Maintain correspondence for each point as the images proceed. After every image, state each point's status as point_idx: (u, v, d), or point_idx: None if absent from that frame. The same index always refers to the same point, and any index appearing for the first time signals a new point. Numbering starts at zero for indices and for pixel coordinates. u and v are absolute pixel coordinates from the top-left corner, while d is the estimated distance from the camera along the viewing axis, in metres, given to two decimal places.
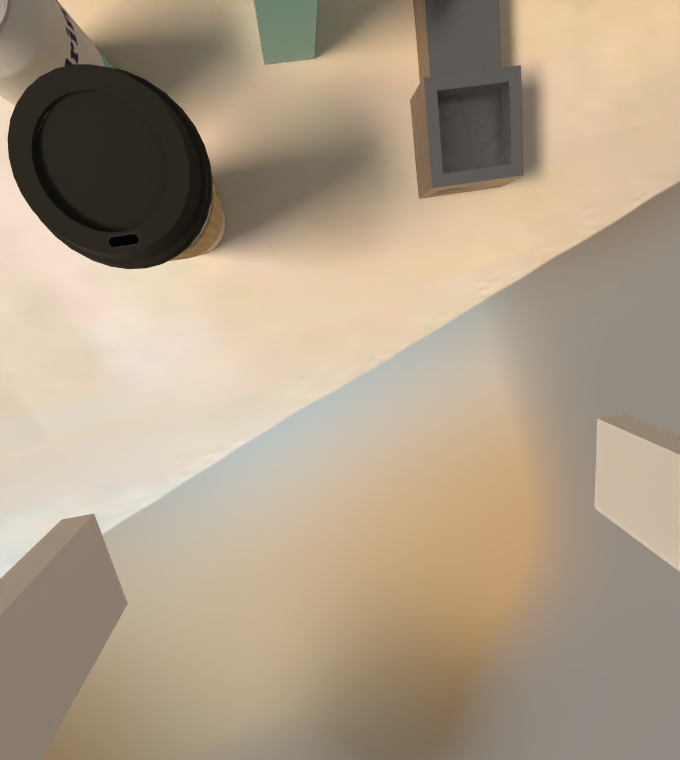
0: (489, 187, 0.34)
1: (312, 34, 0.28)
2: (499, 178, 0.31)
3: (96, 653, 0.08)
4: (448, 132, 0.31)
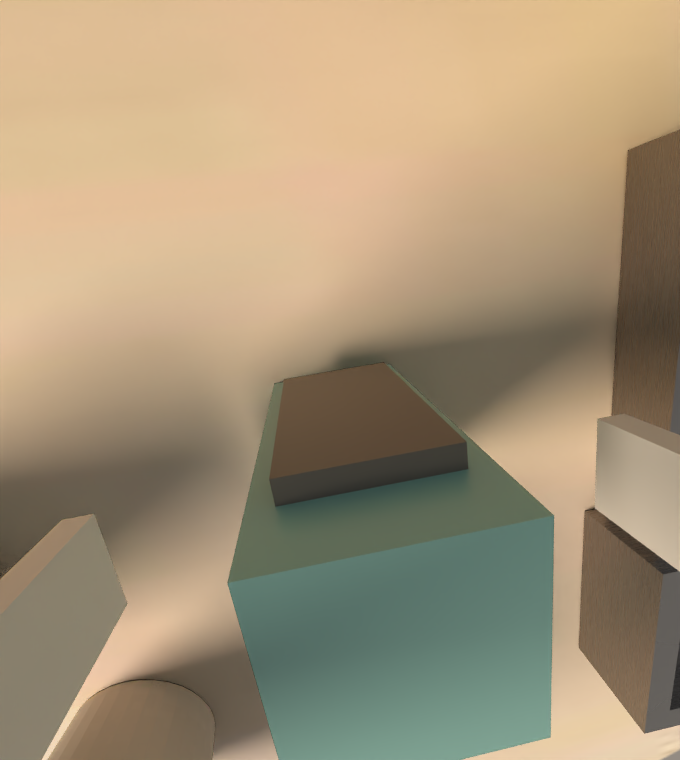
0: None
1: None
2: None
3: (96, 653, 0.08)
4: None
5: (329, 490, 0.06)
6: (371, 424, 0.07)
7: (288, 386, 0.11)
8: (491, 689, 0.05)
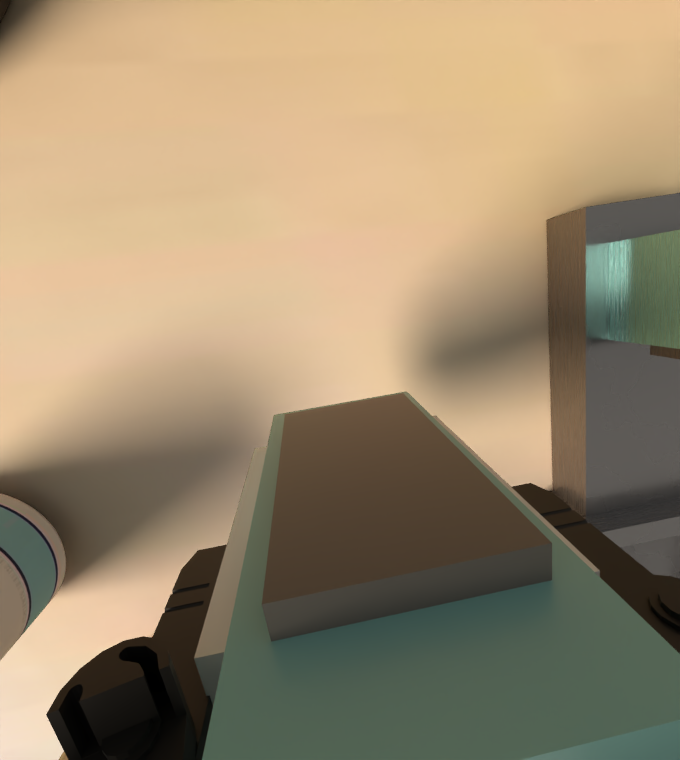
0: None
1: None
2: None
3: None
4: None
5: (351, 617, 0.04)
6: (403, 497, 0.05)
7: (290, 425, 0.09)
8: None
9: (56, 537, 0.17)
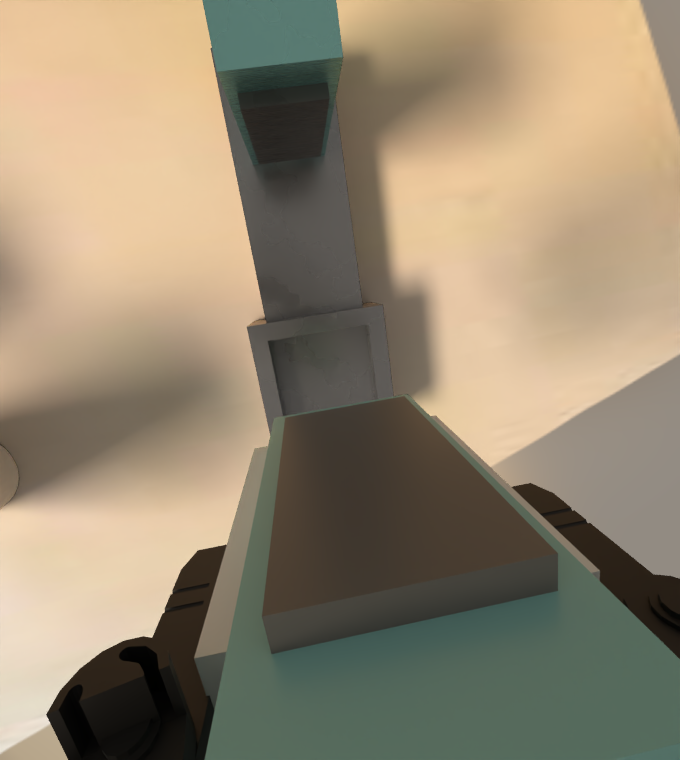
0: None
1: None
2: None
3: None
4: (296, 375, 0.23)
5: (353, 629, 0.04)
6: (405, 505, 0.05)
7: (290, 429, 0.09)
8: None
9: None
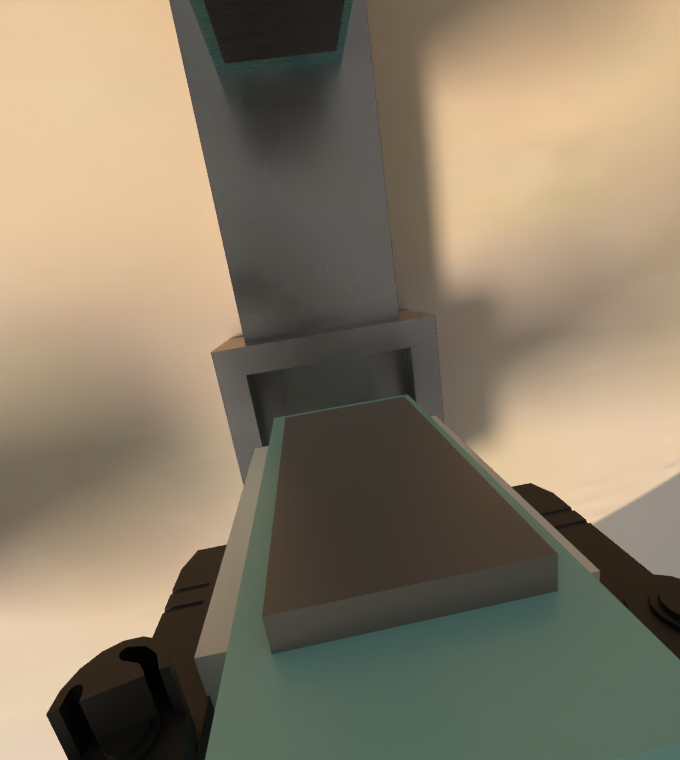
0: None
1: None
2: None
3: None
4: None
5: (352, 629, 0.04)
6: (405, 505, 0.05)
7: (290, 429, 0.09)
8: None
9: None
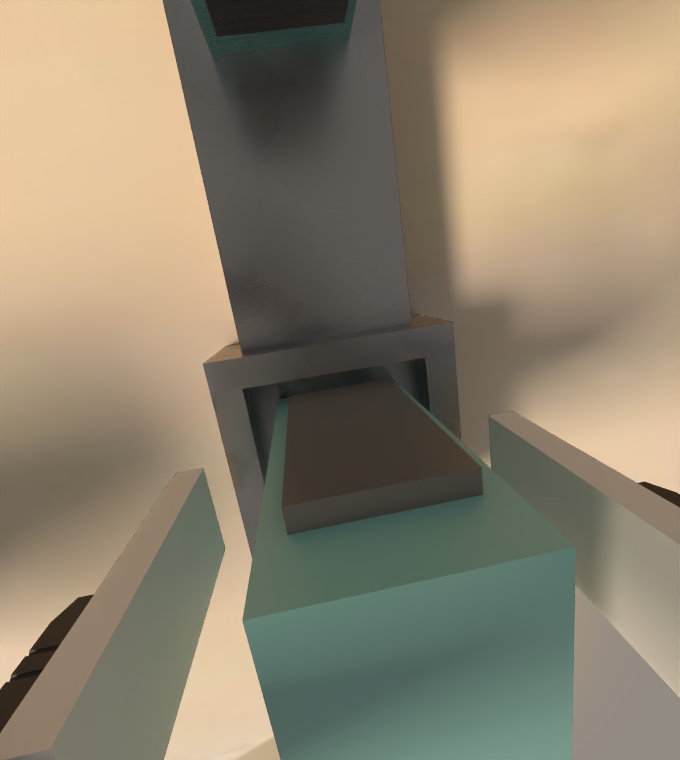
0: None
1: None
2: None
3: (211, 582, 0.10)
4: None
5: (342, 518, 0.06)
6: (382, 447, 0.07)
7: (294, 403, 0.11)
8: (511, 725, 0.05)
9: None
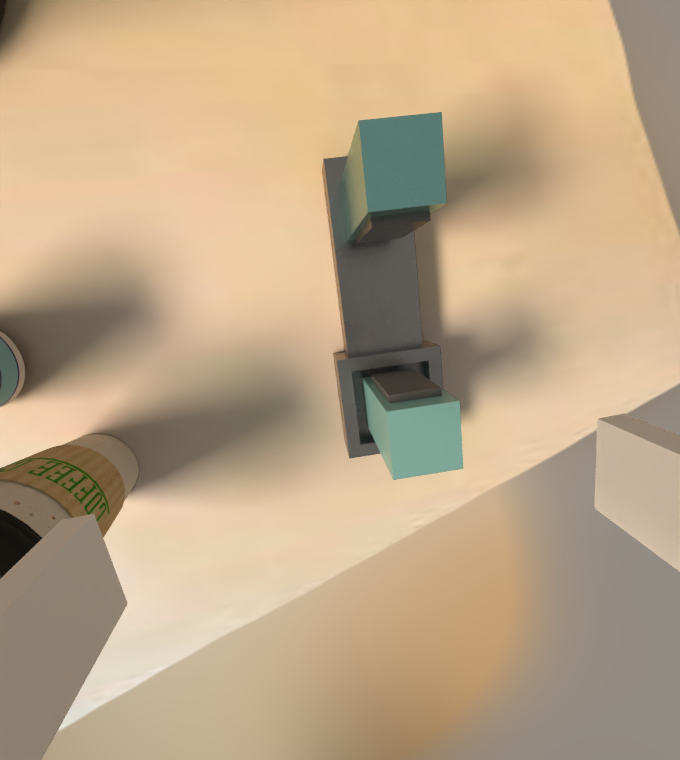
0: None
1: None
2: None
3: (96, 653, 0.08)
4: None
5: (404, 399, 0.22)
6: (413, 385, 0.23)
7: (375, 376, 0.27)
8: (446, 449, 0.21)
9: (19, 354, 0.28)
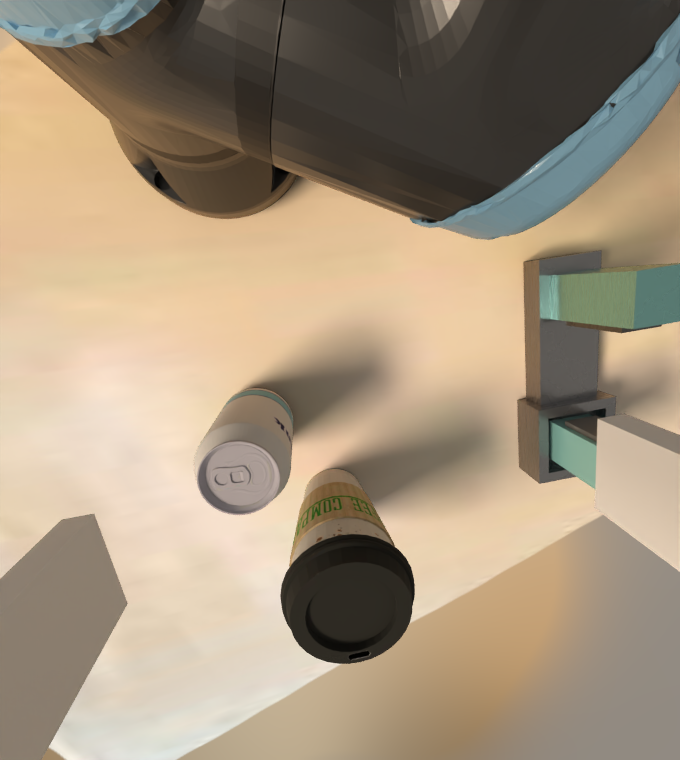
0: None
1: None
2: None
3: (96, 653, 0.08)
4: None
5: None
6: None
7: (573, 424, 0.35)
8: None
9: (291, 412, 0.35)
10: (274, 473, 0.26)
